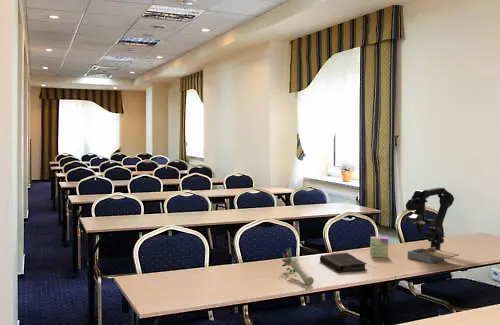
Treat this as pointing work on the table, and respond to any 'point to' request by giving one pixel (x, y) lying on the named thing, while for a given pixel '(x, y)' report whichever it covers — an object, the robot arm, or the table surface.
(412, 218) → the robot arm
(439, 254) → the lid
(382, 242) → the box
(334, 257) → the diary
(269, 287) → the table surface
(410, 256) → the base
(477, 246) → the table surface
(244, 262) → the table surface
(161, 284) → the table surface
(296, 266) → the flower vase
